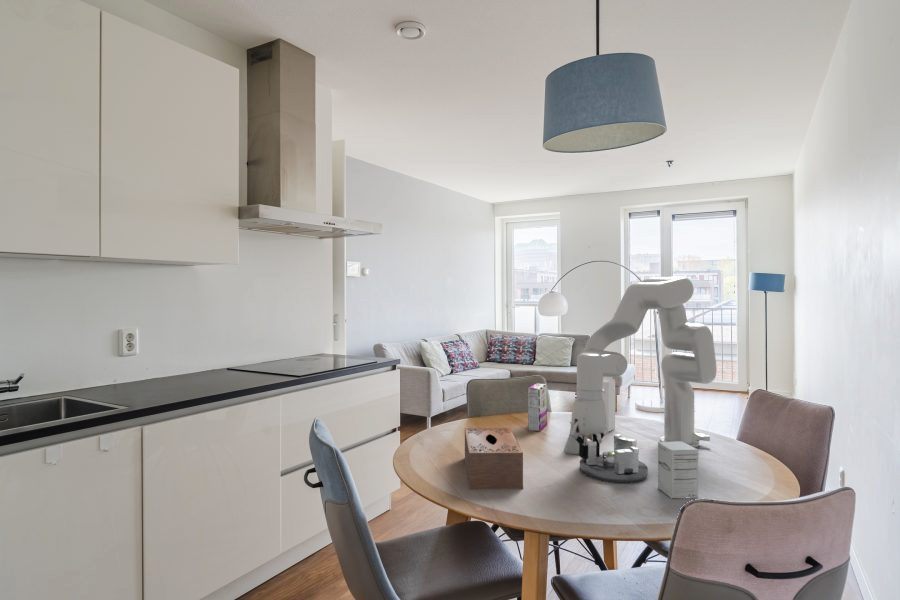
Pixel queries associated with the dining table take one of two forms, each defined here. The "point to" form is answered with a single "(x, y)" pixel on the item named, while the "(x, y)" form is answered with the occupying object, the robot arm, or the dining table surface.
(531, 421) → the candy bar box
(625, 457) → the knob
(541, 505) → the dining table surface
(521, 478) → the tissue box cover
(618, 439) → the knob
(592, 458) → the knob front
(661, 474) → the supplement box
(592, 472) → the levelling plate
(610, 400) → the milk
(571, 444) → the flask
